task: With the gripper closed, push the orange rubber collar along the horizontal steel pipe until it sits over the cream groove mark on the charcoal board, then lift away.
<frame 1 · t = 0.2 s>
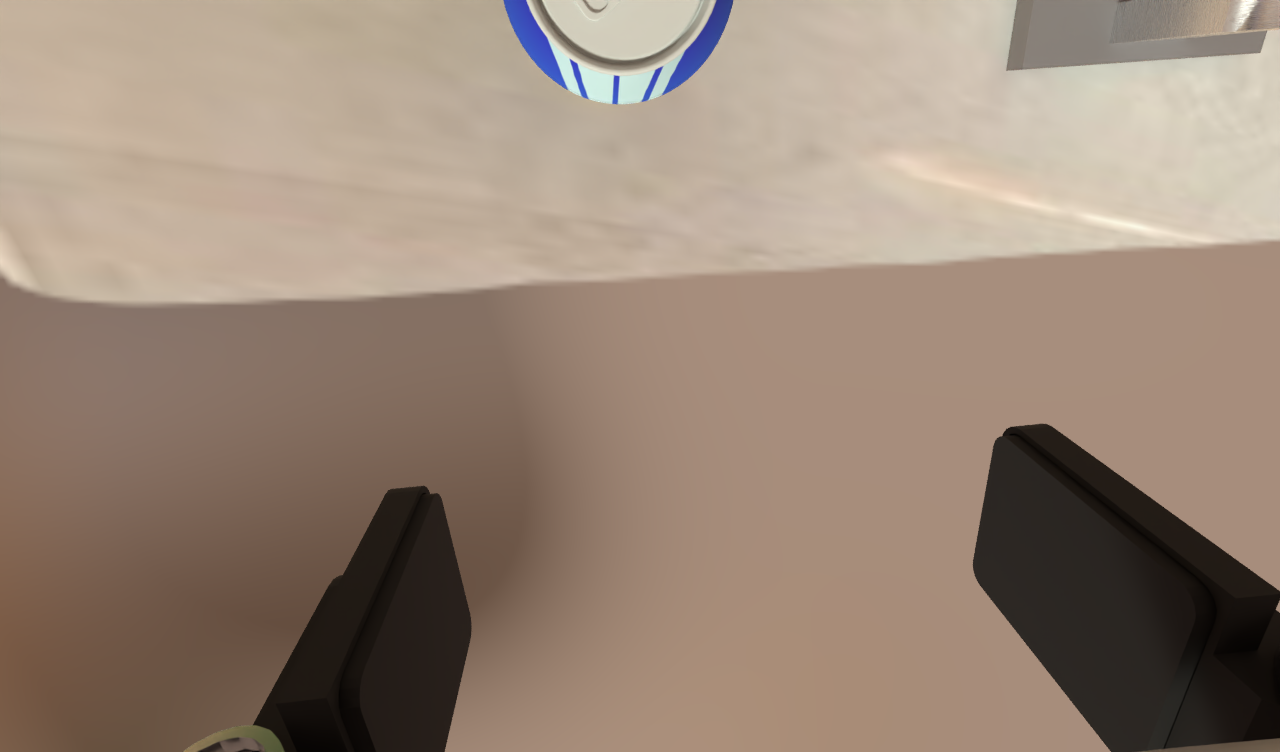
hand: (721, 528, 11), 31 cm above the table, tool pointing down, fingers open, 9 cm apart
beer can: (610, 18, 35), on the table
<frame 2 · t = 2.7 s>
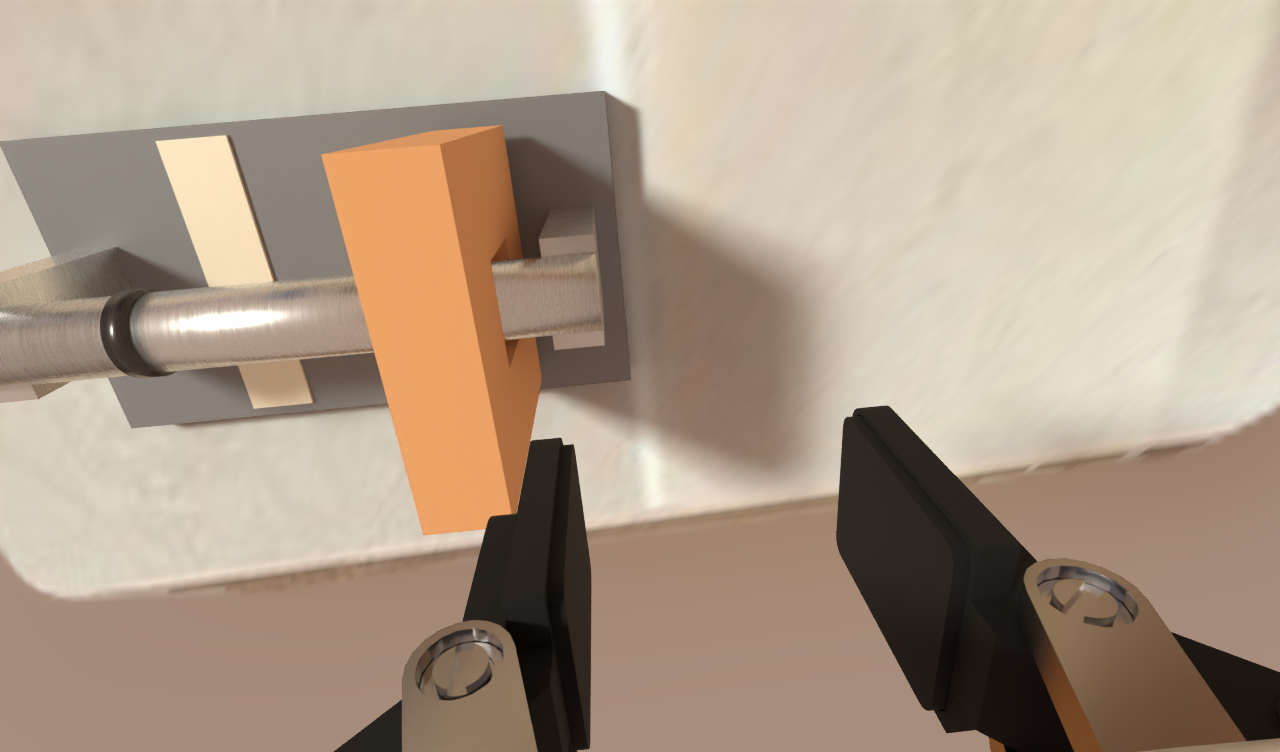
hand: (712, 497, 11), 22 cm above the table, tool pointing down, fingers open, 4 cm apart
pipe: (311, 300, 26), on the base board, point 6 cm above the table
collar: (468, 303, 24), point 8 cm above the table, slide at 0.0 cm
base board: (359, 265, 32), on the table
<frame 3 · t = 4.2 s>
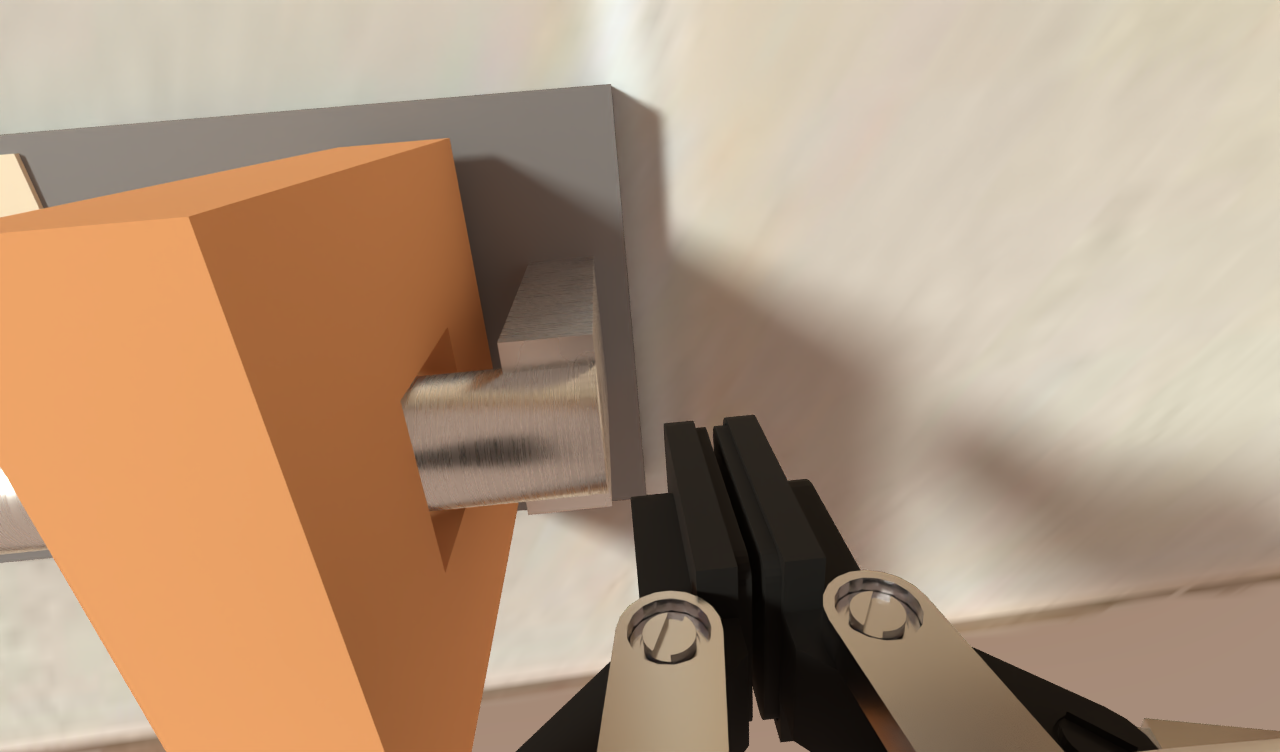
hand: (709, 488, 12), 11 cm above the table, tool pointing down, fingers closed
pipe: (138, 421, 16), on the base board, point 6 cm above the table
collar: (378, 447, 14), point 8 cm above the table, slide at 0.0 cm
base board: (251, 340, 22), on the table
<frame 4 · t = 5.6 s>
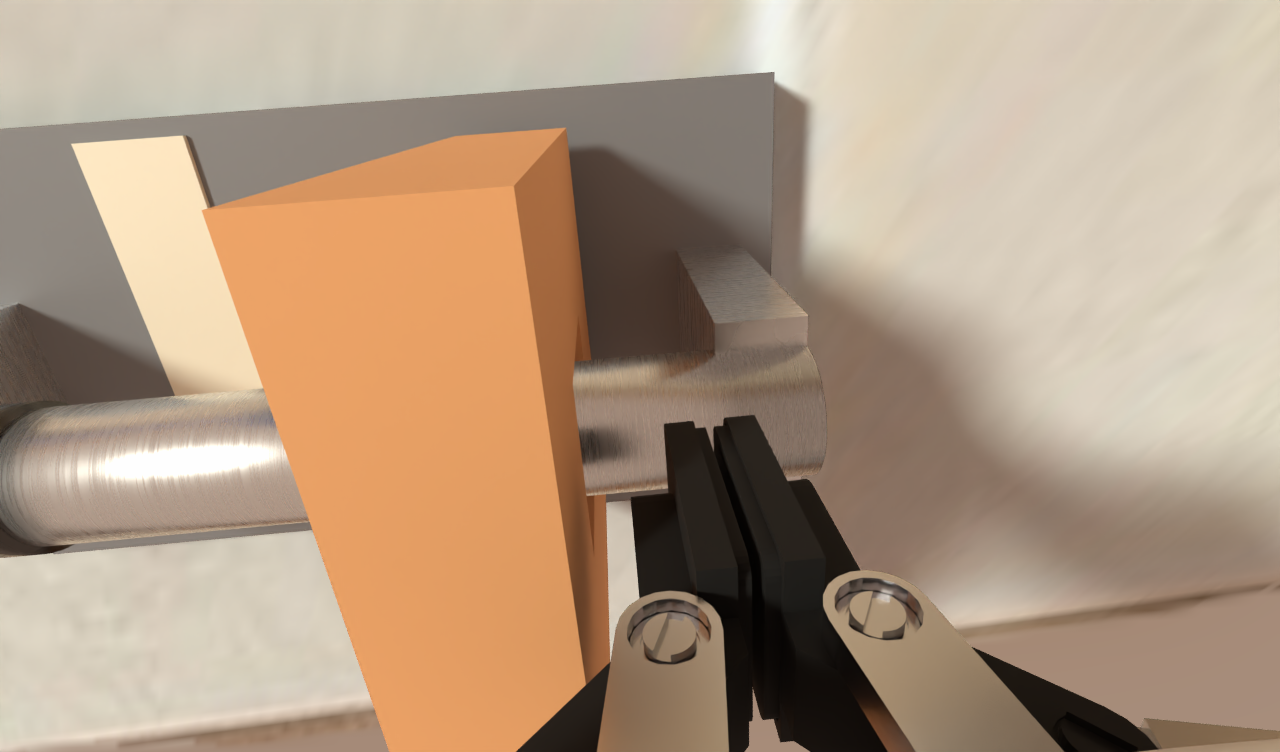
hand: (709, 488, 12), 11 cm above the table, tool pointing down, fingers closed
pipe: (315, 402, 16), on the base board, point 6 cm above the table
collar: (518, 433, 14), point 8 cm above the table, slide at 1.5 cm, touching gripper
base board: (384, 326, 22), on the table
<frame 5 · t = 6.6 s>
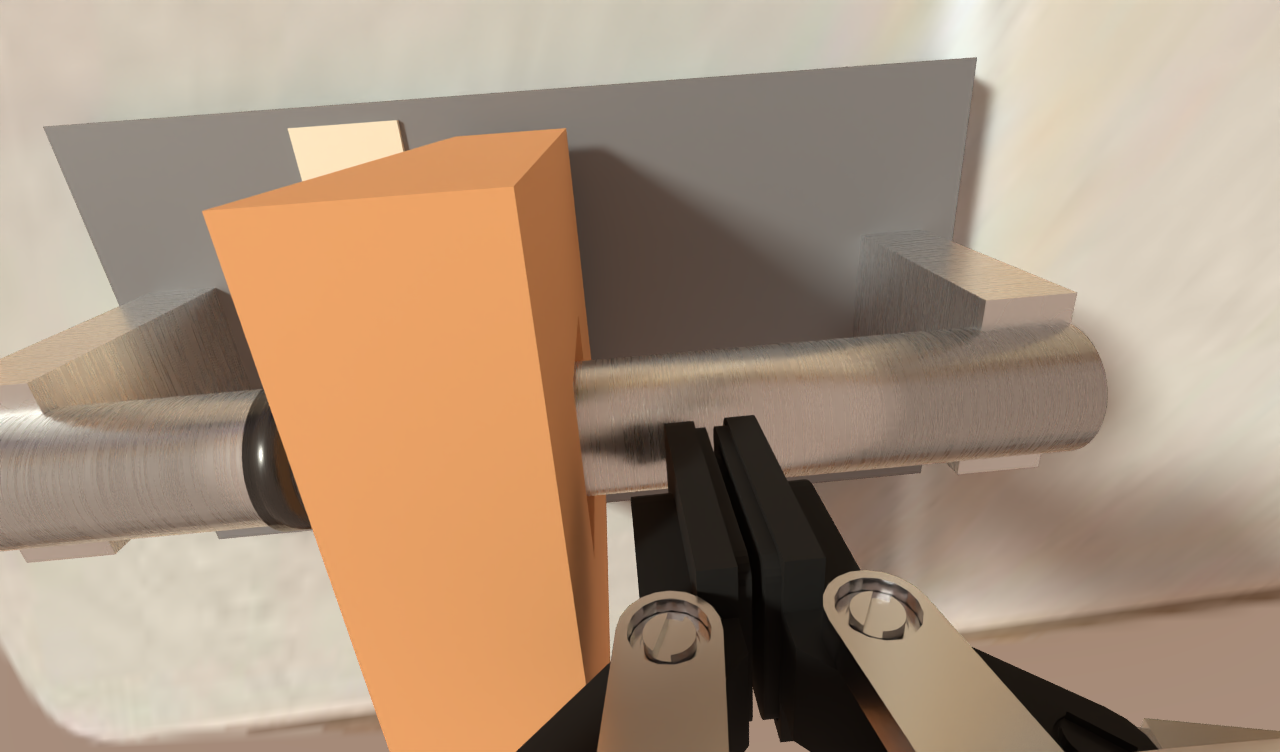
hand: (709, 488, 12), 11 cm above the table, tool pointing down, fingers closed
pipe: (541, 382, 16), on the base board, point 6 cm above the table
collar: (518, 434, 14), point 8 cm above the table, slide at 7.3 cm, touching gripper
base board: (554, 312, 22), on the table
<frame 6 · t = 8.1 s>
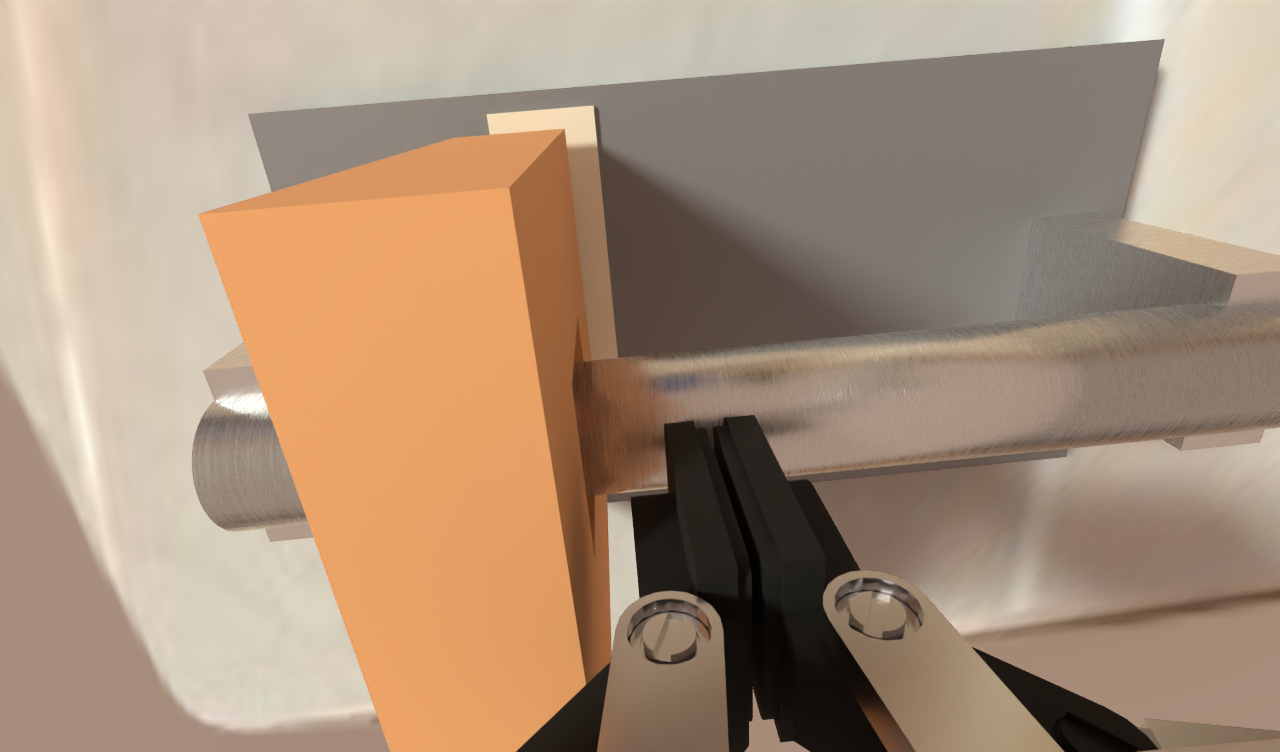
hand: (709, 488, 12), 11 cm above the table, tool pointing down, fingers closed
pipe: (750, 363, 17), on the base board, point 6 cm above the table
collar: (518, 434, 14), point 9 cm above the table, slide at 12.8 cm, touching gripper
base board: (713, 298, 22), on the table
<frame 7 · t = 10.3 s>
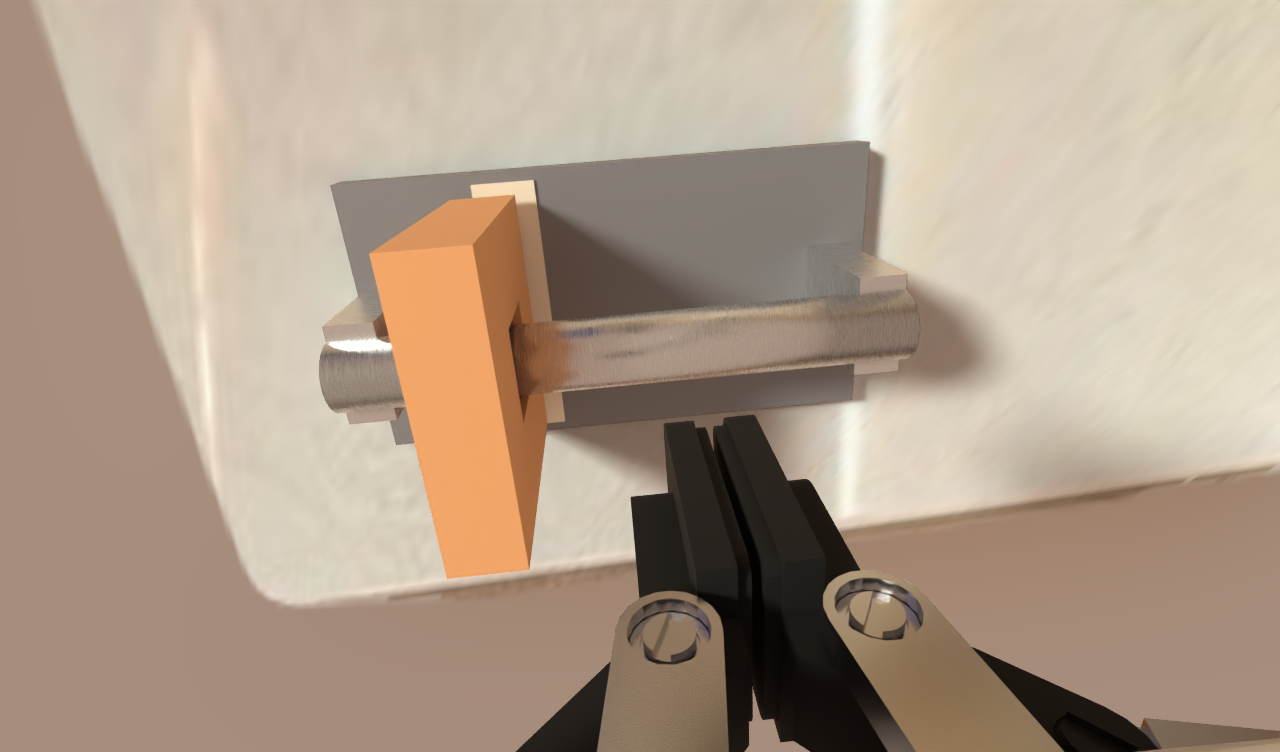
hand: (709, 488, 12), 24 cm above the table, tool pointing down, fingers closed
pipe: (621, 329, 29), on the base board, point 6 cm above the table
collar: (485, 363, 26), point 9 cm above the table, slide at 12.9 cm
base board: (616, 295, 34), on the table
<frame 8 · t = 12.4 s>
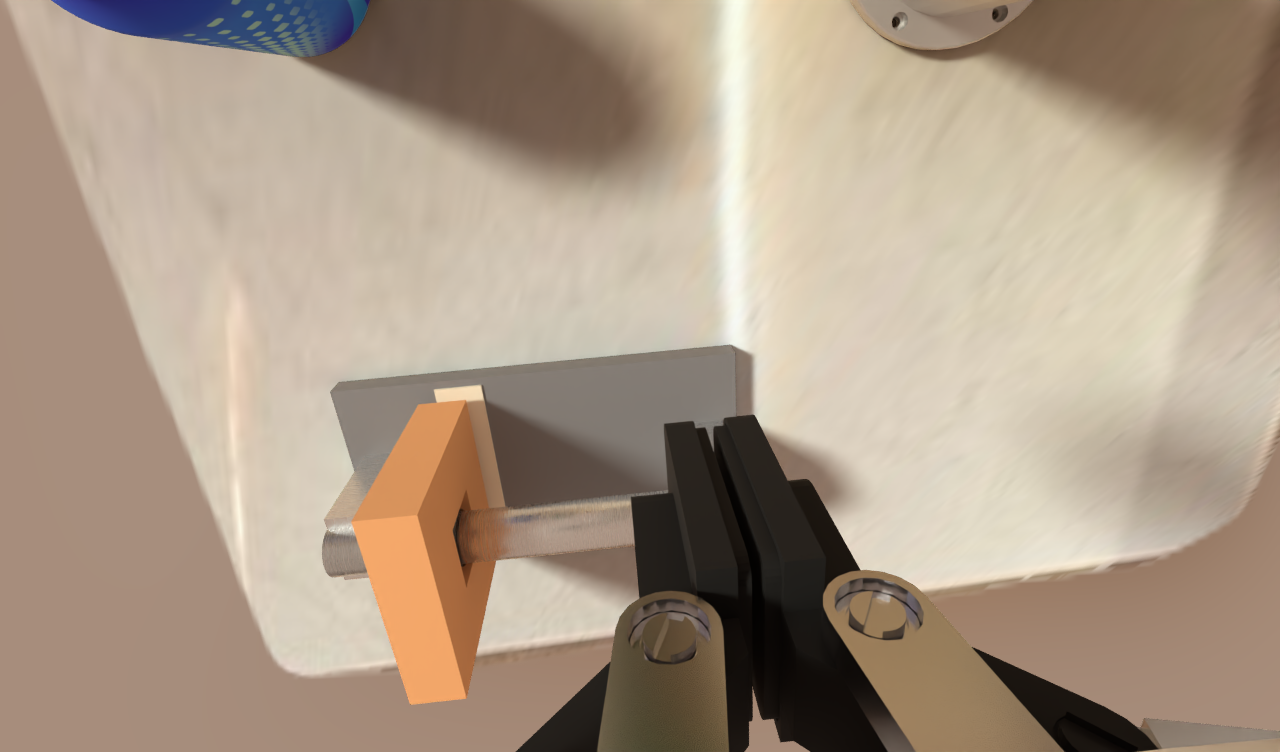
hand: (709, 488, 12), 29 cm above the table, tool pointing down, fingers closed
pipe: (544, 502, 39), on the base board, point 6 cm above the table
collar: (440, 539, 37), point 8 cm above the table, slide at 12.9 cm
base board: (550, 454, 45), on the table
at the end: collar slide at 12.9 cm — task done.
